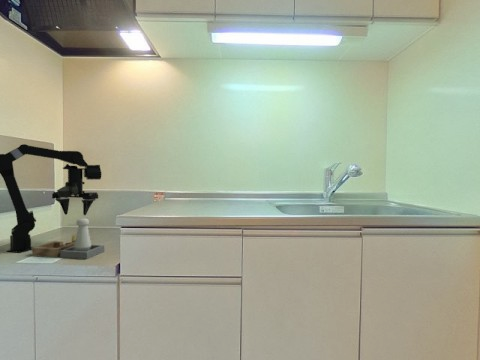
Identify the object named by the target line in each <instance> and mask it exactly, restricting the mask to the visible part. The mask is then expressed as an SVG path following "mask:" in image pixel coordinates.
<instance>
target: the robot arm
mask: <svg viewBox="0 0 480 360" xmlns="http://www.w3.org/2000/svg"><path fill="white" fill-rule="evenodd" d="M27 155H29V156H34V157H41V158H46V159H53V160H54V159H55V160H58V161H61V162H65V163H66V164H65V166H63V167H62V169H63V170H67V181H65V183H64V184H65V185H64V186H62V187H60V188H59V189H57V190H56V191H54V192H53V193H52V194H51V198H52V199H54V201H57V203H59V204H60V206H61V209H62V211H63V213H64V215H66V216H67V215H68V212H69V207H70V198H81V202H82V208H83V212H82V213H83V216H86V215H87V214H88V212H89V210H90V208H91V206H92V204H93V202H94V201H95V202H96V199H97V200H98V199H99V194H98V191H97V192H96V191H95V192H94V191H93V192H92V191H91V192H89V191H88V192H85V190H83V187H84V186H83V185H85V181H83V180H84V179H83V178H85V179H86V180H90V181H91V180H95V181H96V180H101V179H102V170H101V164H88V163H87V162H86V160H85V159H84V155H83V153H82V152H81V151H77V150H57V149H51V148H45V147H39V146H34V145H33V146H32V145H28V144H23V143H22V144H19V146H18V147H17V148H16V147H15V148H14V149H12V150H10V151H8V152H7V153H5V154H4V153H0V176H1V177H2V178H3V181H4V184H5V187H6V189H7V192H8V194H9V197H10V200H11V203H12V206H13V207H14V210H15V216H16V225H14V227H13V228H11V231H10V232H11V233H10V234H11V235H10V236H9V238H10V239H9V241H10V248H9V249H7V250H6V252H7V253H8V252H9V253H23V252H26V251H29V250H32V248H33V247H34V246H32V238H31V234H30V232H32V231H33V230H34V228H35V227H36V222H37V220H36V217H34V212H33V210H30V211H29V210H28V209H27V207H26V204H25V201H24V199H23V196H22V194H21V193H22V192H21V191H20V187H19V184H18V182H17V179H16V176H15V173H14V171H15V170H14V165H13V163H14V161H17V160H18V159H20V158H22V157H23V156H27ZM69 164H71V165H69ZM79 167H83V168H79Z"/></svg>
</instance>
